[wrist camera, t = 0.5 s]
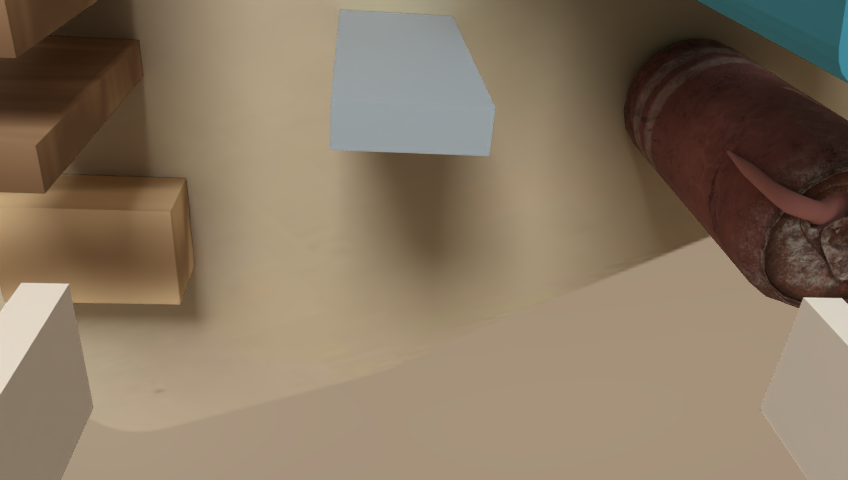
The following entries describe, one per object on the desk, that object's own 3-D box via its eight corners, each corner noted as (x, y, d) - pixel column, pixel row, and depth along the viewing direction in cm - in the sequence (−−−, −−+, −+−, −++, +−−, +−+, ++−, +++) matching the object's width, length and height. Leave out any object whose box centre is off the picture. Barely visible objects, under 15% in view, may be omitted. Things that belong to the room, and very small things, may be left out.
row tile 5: (19, 33, 32) (-145, 138, 22) (138, 40, 32) (35, 145, 22) (26, 70, 33) (-128, 188, 22) (143, 75, 33) (44, 193, 23)
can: (659, 13, 34) (828, 124, 21) (769, 65, 35) (984, 196, 23) (592, 129, 36) (710, 287, 24) (698, 173, 38) (858, 341, 26)
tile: (339, 9, 32) (330, 100, 22) (452, 16, 33) (495, 107, 23) (339, 45, 33) (330, 150, 23) (449, 51, 34) (489, 155, 23)
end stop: (12, 172, 35) (-20, 206, 32) (186, 178, 36) (170, 211, 33) (32, 262, 37) (4, 301, 34) (194, 265, 38) (180, 304, 35)
